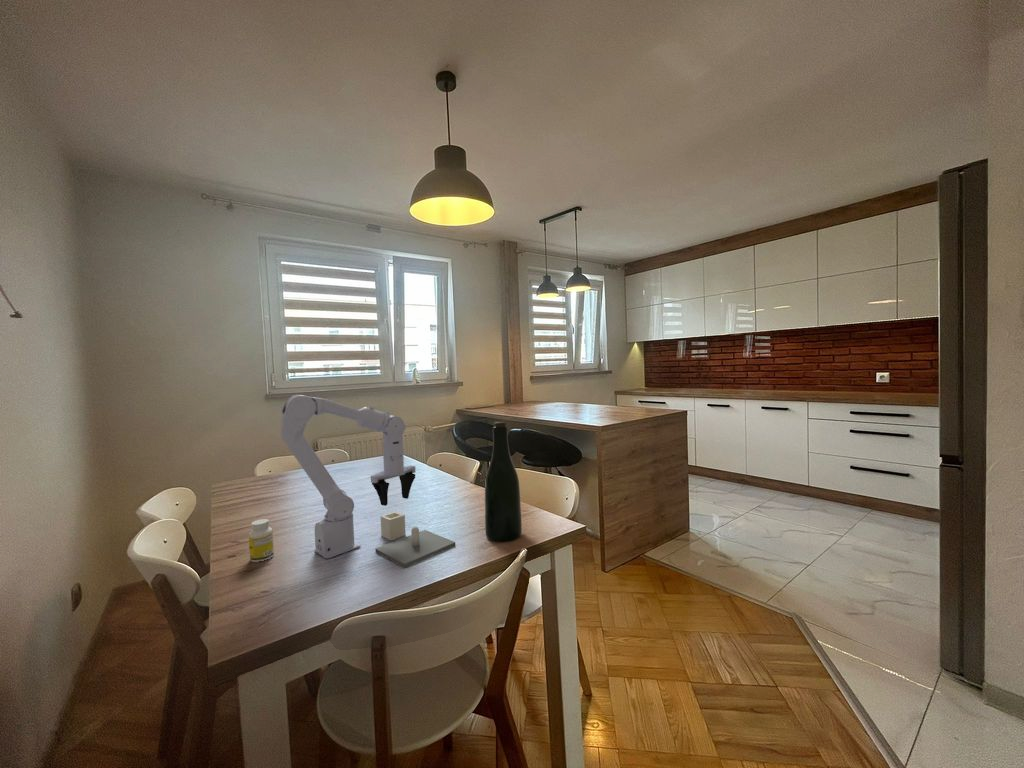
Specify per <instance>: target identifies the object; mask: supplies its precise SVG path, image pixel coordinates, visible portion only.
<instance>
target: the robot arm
mask: <svg viewBox="0 0 1024 768" xmlns="http://www.w3.org/2000/svg"><path fill="white" fill-rule="evenodd" d="M324 414H330V415H334V416H338V417H341V418H346V419H349V420H354V421H355V423H356V425H357V426H358V427H361V428H365V429H368V430H372V431H375V432H379V433H382V452H383V455H382V456H383V457H382V458H383V470H382V471H380V472H377V473H376V474H372V475H370V483H371V485H372V486H373V488H374V489H375V491H376V493H377V495H378V499H379V501H380V505H381V506H385V507H386V506H388V503H389V502H388V494H389V493H388V492H389V486H390V483H389V482H387V481H386V480H389V479H393V478H396V477H398V478H399V481H400V486H401V497H402V499H406V500H407V499H409V497H410V492H411V488H412V485H413V482H414V480H415V479H416V474H415V473H416V465H407V466H405V463H404V462H405V461H404V439H403V434H404V433H405V430H406V427H407V426H406V424H405V421H404V420H403V419H402V418H401V417H399V416H397V415H392V414H391V413H390V412H389V411H385V412H383V411H381V410H376V409H375V407H373V406H370V405H369V406H368V407H367V406H364V407H361V408H360V409H357V408H354V407H351V406H348V405H345V404H342V403H339V402H335V401H333V400H330V399H326V398H321V397H314V396H307V395H302V394H294V395H291V396H289V397H288V398H287V399H286V401H285V403H284V405H283V407H282V409H281V420H280V421H281V422H280V423H281V424H280V438H281V439H282V440H283V442H284V443H285V445H286V447H287V448H288V449H289V450H290V452H291V454H292V455H293V457H294V458H295V459H296V461H297V462H298V464H299V465H300V467H301V468H302V469H303V471H304V472H305V473H306V475H307V476H308V478H309V480H310V481H311V482H312V483H313V485H314V487H315V488H316V489H317V491H318V493H319V494H320V496H321V498H322V499H323V500H322V501H323V502H322V503H323V506H324V508H325V509H326V510H327V511H326V513H325V515H324V518H323V519H322V520H320V521H318V522H316V523H315V524H314V544H315V547H314V552H316V553H317V554H319V555H320V556H321V557H323V558H324V559H326V560H327V559H330V558H334V557H336V556H339V555H341V554H345V553H347V552H350V551H353V550H356V549H358V548H361V544H359V543H358V542H356V541H355V531H354V530H355V529H354V525H355V524H354V508H355V502H354V499H352V498H351V497H350V496H349V495H347V493H346V491H344V490H343V489H341V488H340V487H339V486H338V484H337V483H336V481H335V480H334V478H333V477H332V476H331V474H330V472H329V470H327V468H326V467H325V465H324V464H323V462H322V461H321V459H320V458H319V456H318V455H317V453H316V452H315V450H314V449H313V447H312V446H311V444H310V442H308V440H307V439H306V437H305V436H304V432H305V428H306V427H307V424H308V422H309V421H310V420H311V419H312V417H314V415H316V416H320V415H324Z"/></svg>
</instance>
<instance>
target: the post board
mask: <svg viewBox="0 0 1024 768" xmlns="http://www.w3.org/2000/svg"><path fill="white" fill-rule="evenodd" d="M453 547H456V542H455V541H453V540H451V539H449V538H446V537H443V536H442V535H439V534H436V533H433V532H432V531H429V530H427V529H423V530H421V531H420V529H419V527H418V526H413V527H412V528H411V534H410V535H407V536H405V537H402V538H400V539H397V540H395V541H392V542H389V543H386V544H383V545H381V546H379V547H375V550H374V551H375V553H376V552H377V554H378V553H379V554H378V555H380V556H382V557H384V558H385V557H386V559H388V560H389V561H391V562H393V563H395V564H396V563H397V564H396V565H399V566H401V567H402V568H404V569H405V567H406V568H408V567H410V566H413V565H414V563H415V564H417V563H420V562H421V560H422V561H424V560H427V559H428V558H431V557H433V556H435V555H439V554H440V553H442V552H444V551H447V550H448V549H450V548H451V549H452V548H453ZM412 564H413V565H412ZM407 566H408V567H407Z"/></svg>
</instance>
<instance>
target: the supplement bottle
mask: <svg viewBox="0 0 1024 768" xmlns="http://www.w3.org/2000/svg"><path fill="white" fill-rule="evenodd" d="M250 526H251V531H250V532H249V534H248V545H249V559H250V562H252V563H260V562H259V561H262V562H265V561H267V559H268V560H270V559H272V558H273V556H275V547H274V532H273V528H272V527H270V520H269V519H268V518H263V519H262V518H261V519H257V520H254V521H252V522H251V524H250ZM271 557H272V558H271ZM264 560H265V561H264Z"/></svg>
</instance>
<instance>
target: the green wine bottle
mask: <svg viewBox="0 0 1024 768" xmlns="http://www.w3.org/2000/svg"><path fill="white" fill-rule="evenodd" d="M493 425H494V426H493V427H492V442H493V443H492V453H491V459H490V462H489V465H488V469H487V471H486V475H485V479H484V524H485V525H484V526H485V527H484V529H485V537H486V538H487V539H488V540H489V541H491V542H496V543H509V542H513V541H516V540H518V539H519V538H520V537H521V536H522V532H523V530H522V529H523V526H522V507H521V506H522V504H521V489H520V480H519V475H518V472H517V468H515V464H514V462H513V460H512V457H511V453H510V447H509V439H508V438H509V436H508V433H509V428H508V426H507V423H506V422H505V421H494V423H493Z"/></svg>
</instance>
